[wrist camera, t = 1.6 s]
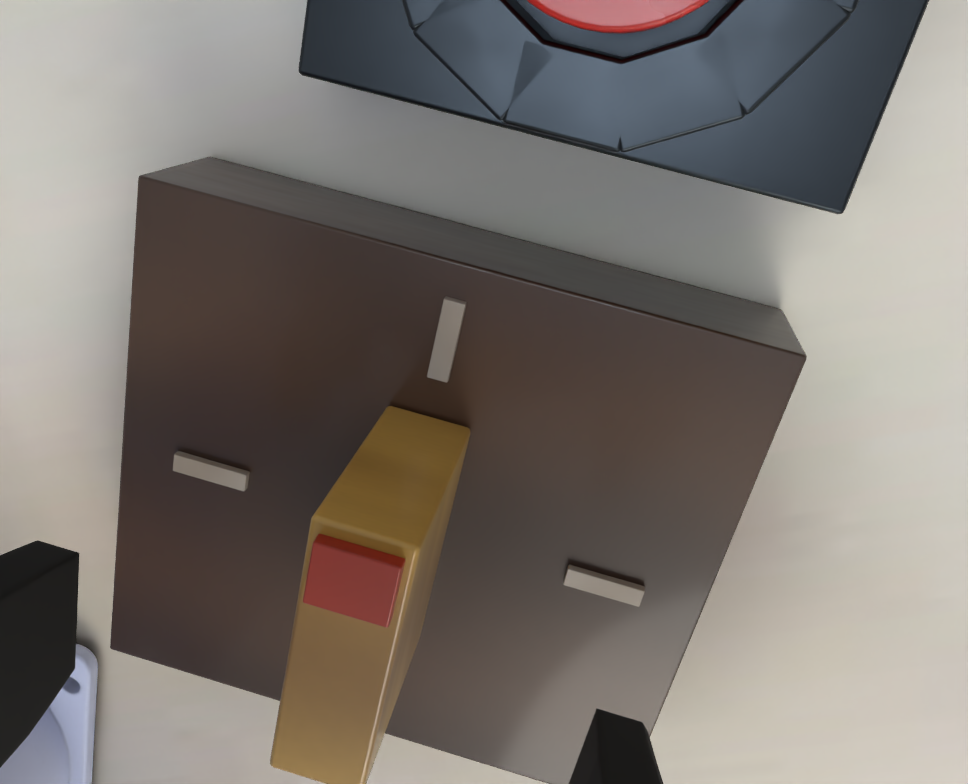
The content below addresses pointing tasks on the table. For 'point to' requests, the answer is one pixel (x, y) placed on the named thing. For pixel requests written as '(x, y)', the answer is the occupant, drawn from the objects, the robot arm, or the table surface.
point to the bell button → (617, 13)
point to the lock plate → (445, 396)
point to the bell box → (644, 80)
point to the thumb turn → (365, 595)
